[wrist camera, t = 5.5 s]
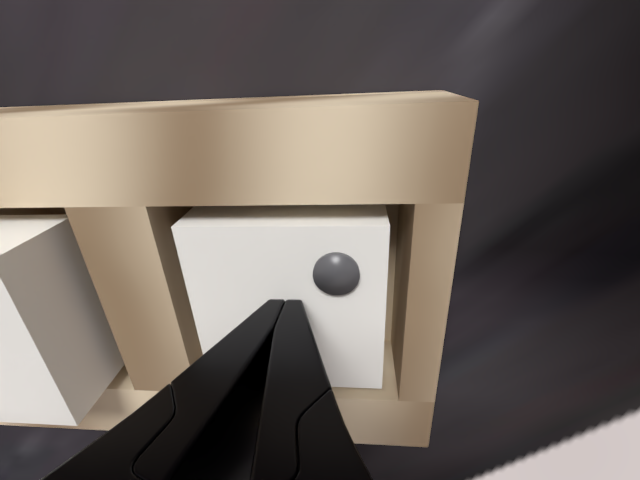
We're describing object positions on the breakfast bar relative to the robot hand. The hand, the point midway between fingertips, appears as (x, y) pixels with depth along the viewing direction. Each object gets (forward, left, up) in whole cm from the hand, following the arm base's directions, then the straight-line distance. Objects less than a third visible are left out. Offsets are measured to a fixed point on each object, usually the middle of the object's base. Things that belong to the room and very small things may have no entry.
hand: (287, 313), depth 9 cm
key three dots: (+8, 0, -1) cm, 8 cm away
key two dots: (0, 0, -2) cm, 2 cm away
